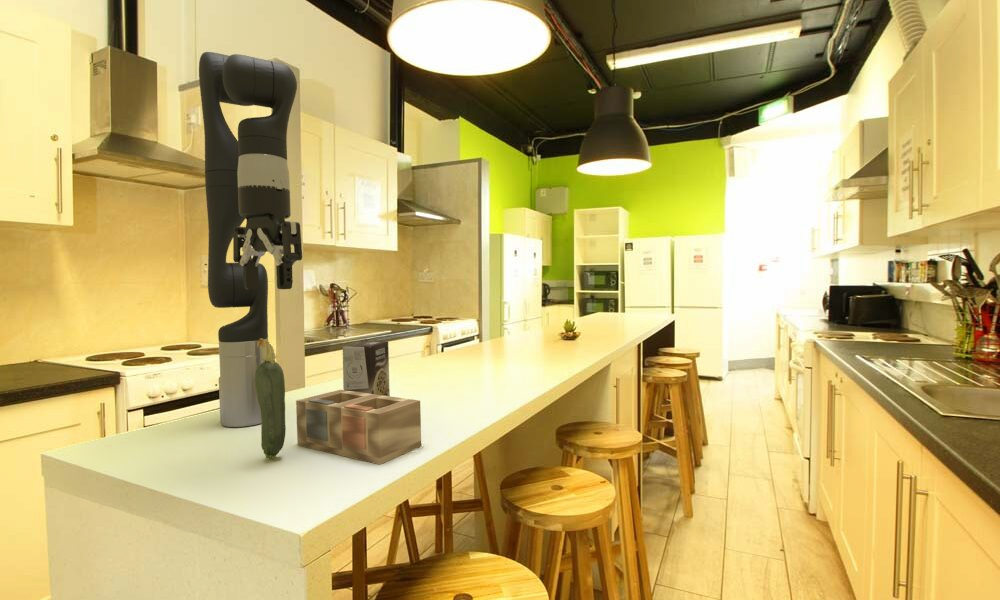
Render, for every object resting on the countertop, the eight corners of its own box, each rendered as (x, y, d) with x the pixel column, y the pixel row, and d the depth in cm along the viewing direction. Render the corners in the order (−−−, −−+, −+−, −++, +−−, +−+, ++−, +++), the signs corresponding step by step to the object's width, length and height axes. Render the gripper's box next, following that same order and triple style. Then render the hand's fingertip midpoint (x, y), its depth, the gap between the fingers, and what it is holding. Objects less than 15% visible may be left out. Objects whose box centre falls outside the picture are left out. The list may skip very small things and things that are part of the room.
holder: (296, 445, 89) (294, 399, 89) (341, 430, 98) (340, 388, 98) (378, 465, 79) (377, 412, 79) (421, 446, 88) (420, 398, 87)
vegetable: (293, 457, 83) (288, 336, 82) (273, 466, 79) (268, 340, 78) (271, 454, 85) (267, 336, 84) (251, 463, 81) (246, 339, 80)
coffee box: (372, 426, 100) (370, 346, 100) (343, 425, 102) (340, 345, 101) (391, 414, 109) (389, 340, 109) (364, 413, 111) (362, 340, 110)
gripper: (215, 188, 81) (219, 289, 81) (271, 178, 73) (274, 289, 74) (258, 195, 87) (261, 288, 88) (313, 186, 80) (316, 288, 81)
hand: (267, 289), depth 81 cm, fingers open, 8 cm apart
